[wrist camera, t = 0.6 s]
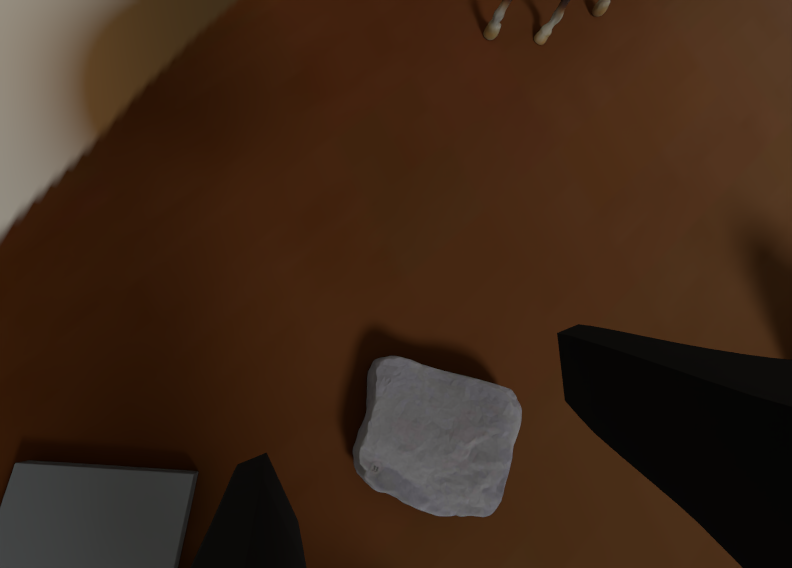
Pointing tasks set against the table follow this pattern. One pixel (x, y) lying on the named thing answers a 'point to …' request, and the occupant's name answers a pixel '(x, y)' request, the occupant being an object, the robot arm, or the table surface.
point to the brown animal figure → (546, 29)
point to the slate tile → (94, 516)
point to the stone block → (436, 438)
